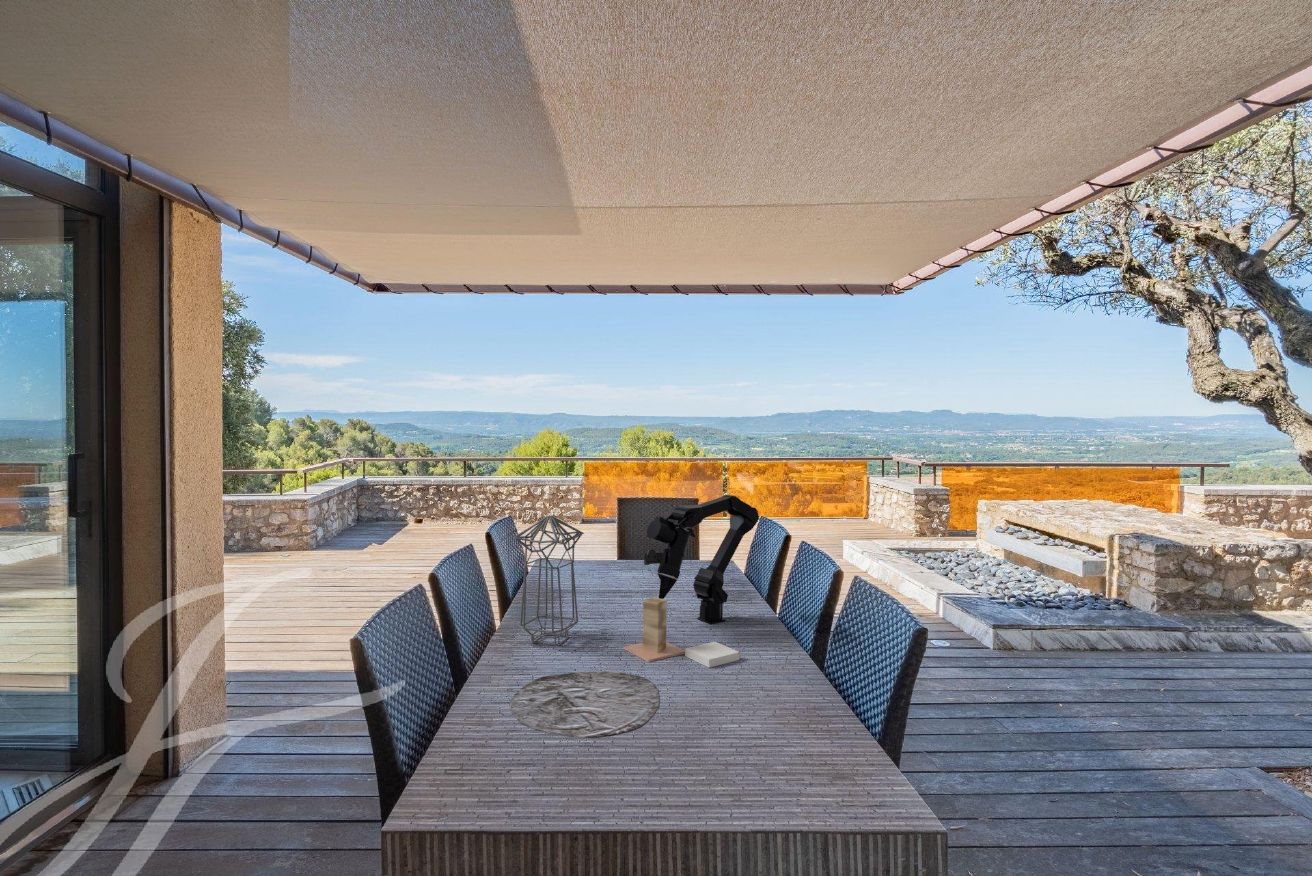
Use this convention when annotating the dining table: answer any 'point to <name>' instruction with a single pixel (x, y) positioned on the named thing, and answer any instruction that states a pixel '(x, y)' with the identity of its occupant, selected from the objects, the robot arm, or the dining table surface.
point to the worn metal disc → (586, 704)
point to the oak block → (654, 624)
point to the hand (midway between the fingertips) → (660, 600)
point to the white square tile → (712, 654)
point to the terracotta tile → (652, 656)
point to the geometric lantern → (540, 527)
